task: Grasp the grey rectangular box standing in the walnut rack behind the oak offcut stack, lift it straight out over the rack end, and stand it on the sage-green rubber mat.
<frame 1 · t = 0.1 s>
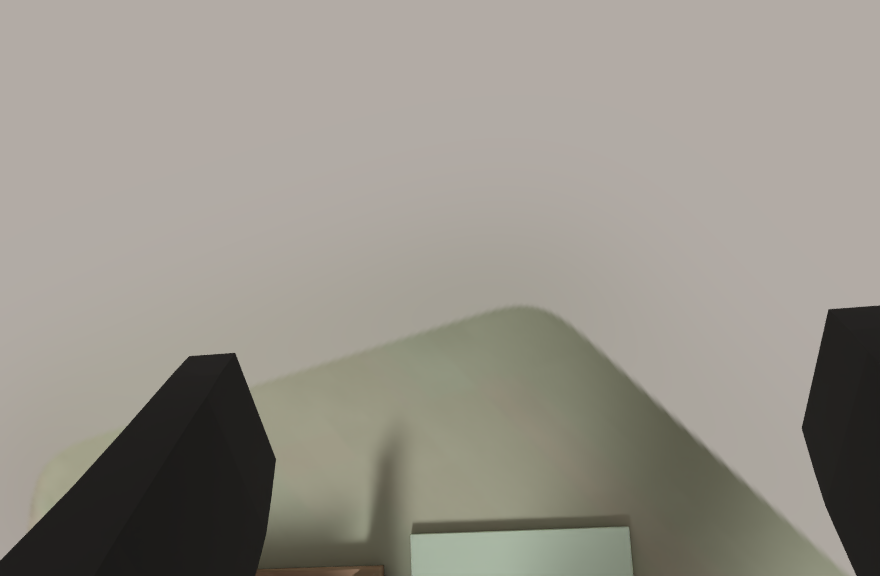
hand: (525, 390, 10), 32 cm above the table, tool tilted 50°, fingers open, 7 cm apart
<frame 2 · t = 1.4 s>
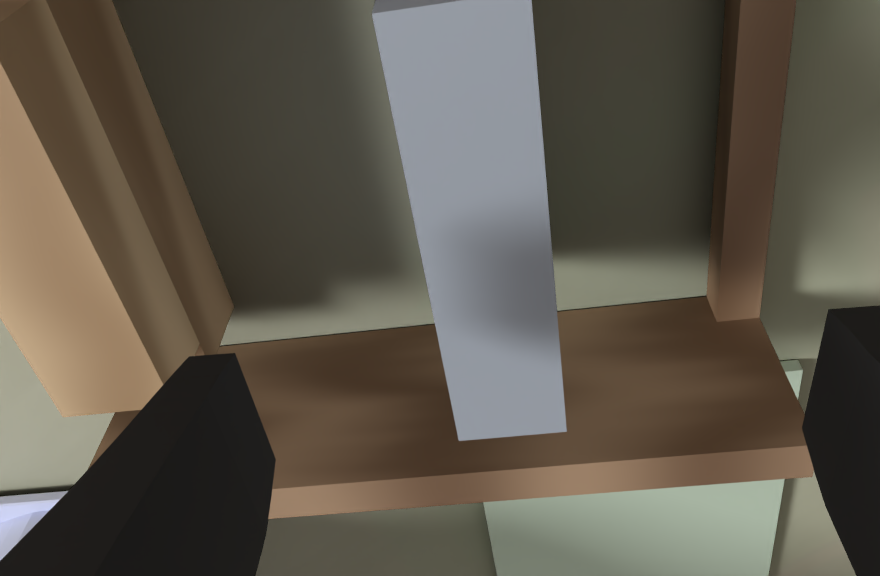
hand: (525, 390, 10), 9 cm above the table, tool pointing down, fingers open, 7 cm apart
offcut: (122, 156, 18), on the table
rack: (388, 113, 17), on the table
mat: (628, 501, 25), on the table
grey rectangular box: (480, 99, 17), resting in rack
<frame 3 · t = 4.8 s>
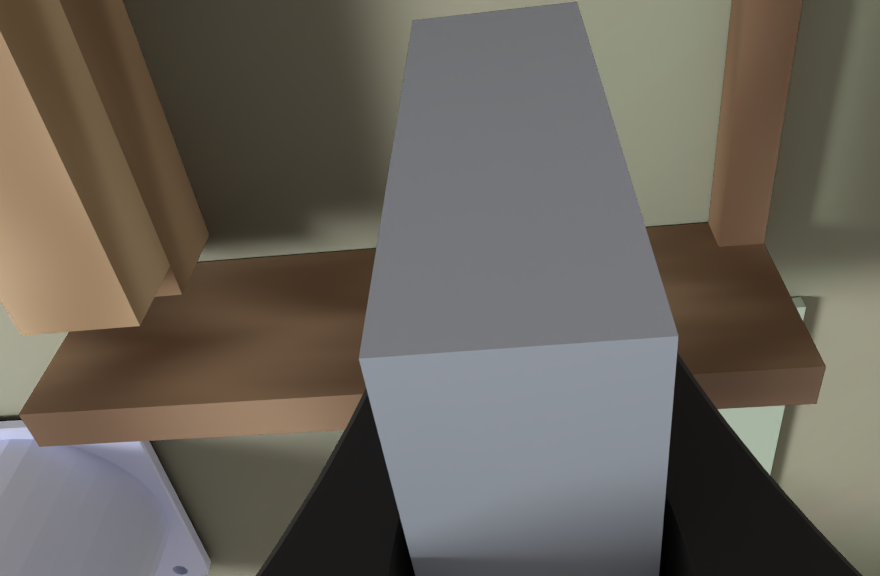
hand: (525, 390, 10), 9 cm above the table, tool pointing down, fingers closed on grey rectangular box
offcut: (91, 64, 17), on the table
rack: (375, 0, 16), on the table
mat: (616, 449, 24), on the table
grey rectangular box: (515, 270, 12), point 6 cm above the table, touching gripper
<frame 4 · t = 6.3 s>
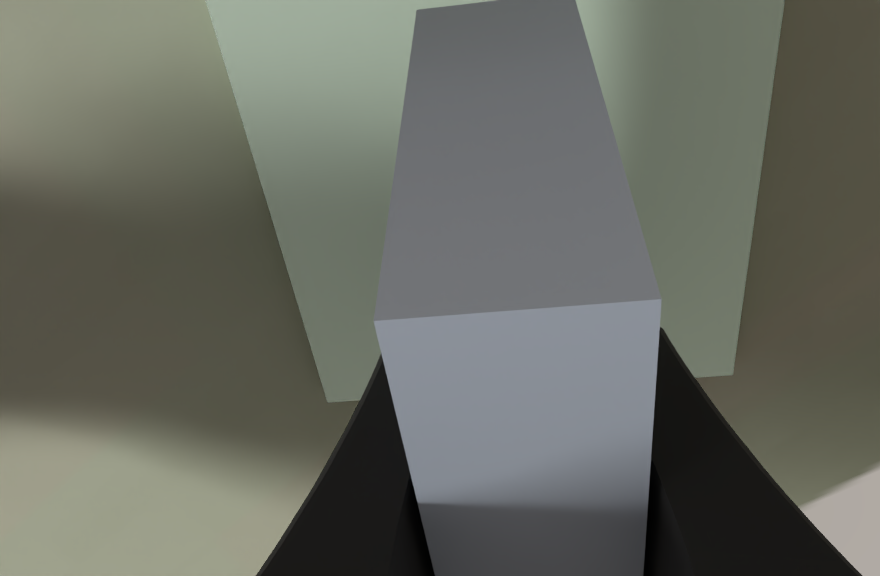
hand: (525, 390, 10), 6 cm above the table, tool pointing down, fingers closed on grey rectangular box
mat: (505, 163, 15), on the table
grey rectangular box: (514, 250, 13), point 3 cm above the table, touching gripper
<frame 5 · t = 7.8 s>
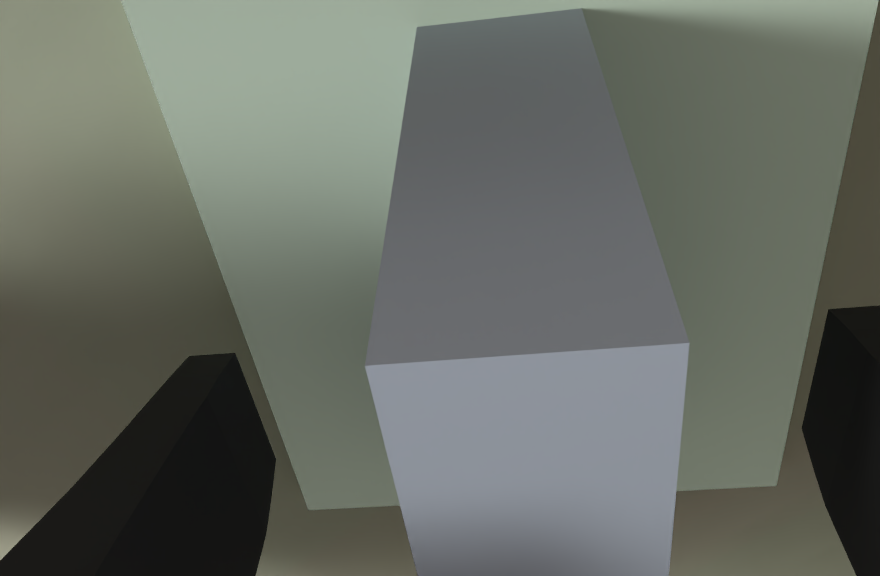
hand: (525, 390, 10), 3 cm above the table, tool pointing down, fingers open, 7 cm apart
mat: (515, 256, 12), on the table
grey rectangular box: (519, 278, 12), resting on mat
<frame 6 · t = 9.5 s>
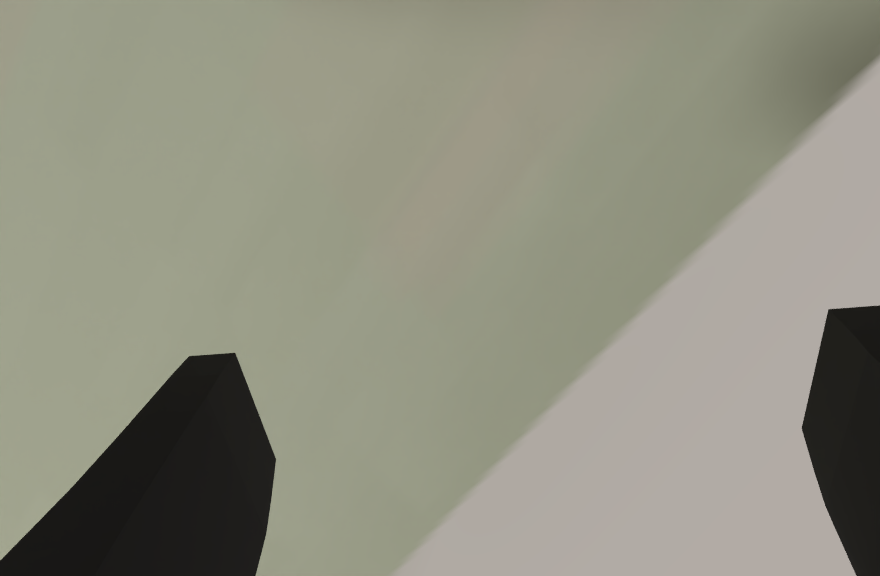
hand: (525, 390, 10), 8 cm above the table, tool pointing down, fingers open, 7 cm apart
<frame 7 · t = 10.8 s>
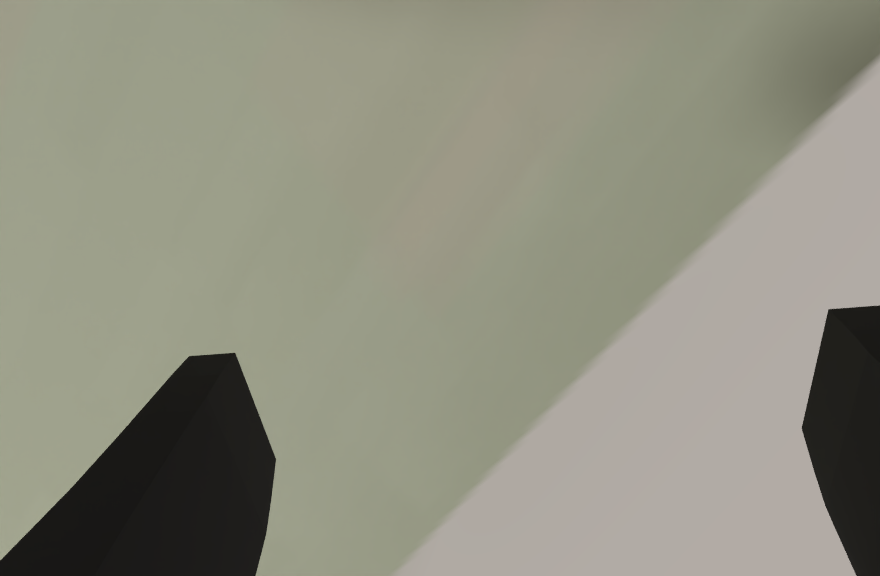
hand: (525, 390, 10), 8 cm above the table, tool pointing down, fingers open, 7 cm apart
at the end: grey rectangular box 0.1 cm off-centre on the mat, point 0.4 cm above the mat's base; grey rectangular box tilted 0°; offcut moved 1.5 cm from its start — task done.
